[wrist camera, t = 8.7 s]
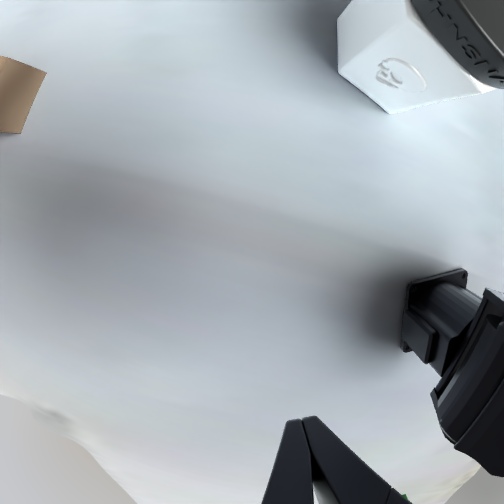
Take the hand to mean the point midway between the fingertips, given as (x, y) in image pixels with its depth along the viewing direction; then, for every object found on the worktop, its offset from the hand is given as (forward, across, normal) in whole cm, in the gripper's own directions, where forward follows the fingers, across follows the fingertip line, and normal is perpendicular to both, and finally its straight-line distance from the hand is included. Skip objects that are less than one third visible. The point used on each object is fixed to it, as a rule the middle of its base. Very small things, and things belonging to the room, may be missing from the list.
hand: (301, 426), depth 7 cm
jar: (+13, -11, -14) cm, 22 cm away
